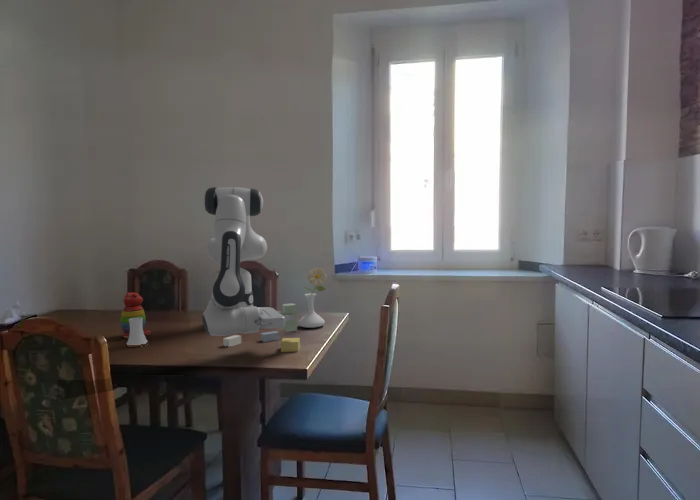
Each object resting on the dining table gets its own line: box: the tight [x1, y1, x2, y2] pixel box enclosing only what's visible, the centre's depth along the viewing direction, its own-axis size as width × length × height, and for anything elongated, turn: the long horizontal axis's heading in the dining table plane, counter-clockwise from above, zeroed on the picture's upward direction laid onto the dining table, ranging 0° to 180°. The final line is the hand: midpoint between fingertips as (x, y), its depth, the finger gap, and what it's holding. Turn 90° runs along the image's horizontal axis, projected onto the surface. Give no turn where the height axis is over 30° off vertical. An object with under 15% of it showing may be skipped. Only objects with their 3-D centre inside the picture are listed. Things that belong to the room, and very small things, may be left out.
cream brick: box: [222, 334, 242, 348], centre depth 181 cm, size 6×3×3 cm, turn 147°
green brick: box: [281, 303, 298, 333], centre depth 172 cm, size 4×4×9 cm
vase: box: [125, 318, 149, 345], centre depth 184 cm, size 8×8×10 cm
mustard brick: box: [280, 337, 301, 353], centre depth 173 cm, size 6×6×4 cm
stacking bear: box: [120, 291, 152, 336], centre depth 199 cm, size 11×10×18 cm
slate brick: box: [260, 330, 280, 343], centre depth 186 cm, size 6×3×3 cm, turn 123°
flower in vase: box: [297, 267, 328, 329], centre depth 206 cm, size 13×11×25 cm
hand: (292, 315), depth 172 cm, fingers closed on green brick, 4 cm apart
